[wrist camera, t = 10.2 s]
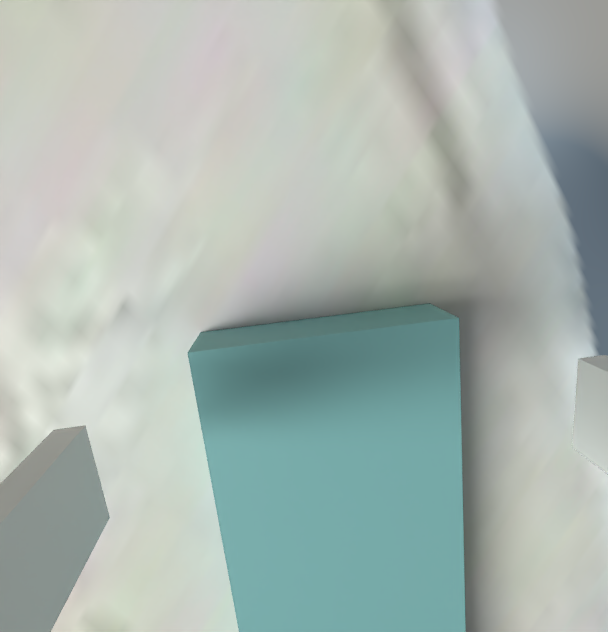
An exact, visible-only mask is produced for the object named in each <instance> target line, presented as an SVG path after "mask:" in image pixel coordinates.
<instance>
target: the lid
mask: <svg viewBox="0 0 608 632" xmlns="http://www.w3.org/2000/svg"><path fill="white" fill-rule="evenodd" d="M188 358H189V363H190V368H191V374H192V379H193V385H194V390H195V396H196V401H197V406H198V412H199V417H200V423H201V428H202V433H203V439H204V444H205V450H206V455H207V461H208V466H209V471H210V477H211V482H212V488H213V493H214V498H215V504H216V509H217V515H218V520H219V526H220V531H221V536H222V542H223V547H224V553H225V558H226V563H227V569H228V574H229V580H230V585H231V591H232V596H233V601H234V607H235V612H236V618H237V623H238V628H239V632H466V630H465V581H464V533H463V484H462V436H461V387H460V339H459V318H458V317H456V316H454V315H452V314H450V313H448V312H446V311H444V310H442V309H440V308H438V307H436V306H434V305H432V304H430V303H429V304H421V305H413V306H405V307H397V308H389V309H382V310H374V311H366V312H358V313H350V314H342V315H334V316H326V317H318V318H310V319H302V320H294V321H286V322H278V323H270V324H262V325H255V326H247V327H239V328H231V329H223V330H215V331H207V332H201V333H200V334H199V336H198V337H197V339H196V341H195V342H194V344H193V345H192V347H191V348H190V350H189V351H188Z"/></svg>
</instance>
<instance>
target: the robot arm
mask: <svg viewBox="0 0 608 632" xmlns="http://www.w3.org/2000/svg"><path fill="white" fill-rule="evenodd" d="M572 448H573V449H574V450H576V451H577V452H578V453H580V454H581V455H582V456H584V457H585V458H586V459H588V460H589V461H590V462H592V463H593V464H594V465H596V466H597V467H598V468H600V469H601V470H602V471H603V472H605V473H606V474H607V475H608V356H606V355H602V356H594V357H587V358H579V359H578V370H577V383H576V397H575V410H574V424H573V438H572ZM109 518H110V517H109V513H108V509H107V506H106V502H105V498H104V494H103V491H102V487H101V483H100V479H99V475H98V472H97V468H96V464H95V460H94V457H93V453H92V449H91V445H90V441H89V438H88V434H87V430H86V426H78V427H71V428H64V429H56V430H53V431H52V432H51V433H50V434H49V435H48V436H47V437H46V438H45V439H44V440H43V441H42V442H41V443H40V444H39V445H38V446H37V447H36V448H35V449H34V450H33V451H32V452H31V453H30V454H29V455H28V456H27V457H26V458H25V459H24V460H23V461H22V462H21V463H20V465H19V466H18V467H17V468H16V469H15V470H14V471H13V472H12V473H11V474H10V475H9V476H8V477H7V478H6V479H5V480H4V481H3V482H2V483H1V484H0V632H51V630H52V628H53V626H54V624H55V622H56V620H57V618H58V616H59V614H60V612H61V610H62V608H63V607H64V605H65V603H66V601H67V599H68V597H69V595H70V593H71V591H72V589H73V587H74V585H75V583H76V581H77V579H78V578H79V576H80V574H81V572H82V570H83V568H84V566H85V564H86V562H87V560H88V558H89V556H90V554H91V552H92V550H93V549H94V547H95V545H96V543H97V541H98V539H99V537H100V535H101V533H102V531H103V529H104V527H105V525H106V523H107V521H108V520H109Z"/></svg>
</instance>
